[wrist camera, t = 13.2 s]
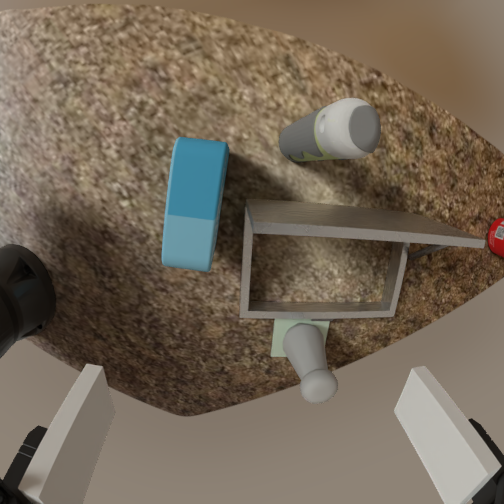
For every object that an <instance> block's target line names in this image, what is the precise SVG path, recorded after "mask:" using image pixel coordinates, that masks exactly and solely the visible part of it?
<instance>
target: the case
mask: <svg viewBox="0 0 504 504" xmlns="http://www.w3.org/2000/svg"><path fill="white" fill-rule="evenodd" d="M253 233H259V234H279V235H298V236H316V237H334V238H350V239H366V240H381V241H393V244H392V250H391V256H390V261H389V266H388V272H387V277H386V282H385V286H384V291H383V295H382V300H381V302H268V301H249V288H250V272H251V256H252V240H253ZM410 242H411V243H424V244H433V245H430V246H428V247H425V248H423V249H421V250H418V251H416V252H414V253H411V254H409V255H408V250H409V245H410ZM450 245H451V246H463V247H475V248H484V245H485V240H484V239H482V238H479V237H477V236H474V235H472V234H469V233H467V232H464V231H462V230H459V229H456V228H454V227H451V226H449V225H446V224H443V223H441V222H438V221H435V220H432V219H430V218H427V217H424V216H421V215H418V214H415V213H409V212H401V211H392V210H383V209H374V208H365V207H354V206H344V205H333V204H321V203H309V202H295V201H280V200H264V199H246V204H245V210H244V228H243V246H242V265H241V284H240V304H239V312H240V318H271V319H311V321H333V319H336V318H373V317H394V314H395V310H396V306H397V302H398V298H399V293H400V289H401V285H402V280H403V276H404V271H405V266H406V261H407V256H408V258H409V260H414V259H417V258H419V257H422V256H425V255H427V254H430V253H432V252H435V251H437V250H440V249H442V248H445V247H448V246H450Z"/></svg>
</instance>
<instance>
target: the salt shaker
mask: <svg viewBox="0 0 504 504" xmlns="http://www.w3.org/2000/svg"><path fill="white" fill-rule="evenodd" d="M283 350H284V352H285V354H286V356H287V357H288V359H289V361H290V362H291V364H292V366H293V367H294V369H295V371H296V372H297V374H298V376H299V377H300V379H301V382H300V391H301V394H302V396H303V398H304V399H305V400H306V401H308V402H310V403H314V404H317V403H323V402H326V401H328V400H330V399H331V398H332V397H333V396H334V395H335V394H336V392H337V390H338V382H337V379H336V377H335V376H334V374H333V373H332V372H331V371H329V370H328V367H327V360H326V353H325V344H324V336H323V334H322V333H321V331H320V330H319V328H318V327H315V326H313V325H311V324H305V323H300V322H299V323H297V324H295V325H294V326H292V327H290V328H289V329H288V330H287V332H286V334H285V337H284V339H283Z"/></svg>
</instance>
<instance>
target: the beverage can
mask: <svg viewBox="0 0 504 504" xmlns="http://www.w3.org/2000/svg"><path fill="white" fill-rule="evenodd" d="M488 244H489V247H490V249H491V251H492V252H493V253H495V254H498V255H500V256H502V257H504V219H503V218H499V219H497V220H496V221H494V223H493V224H492V225H491V227H490V229H489V232H488Z"/></svg>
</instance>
